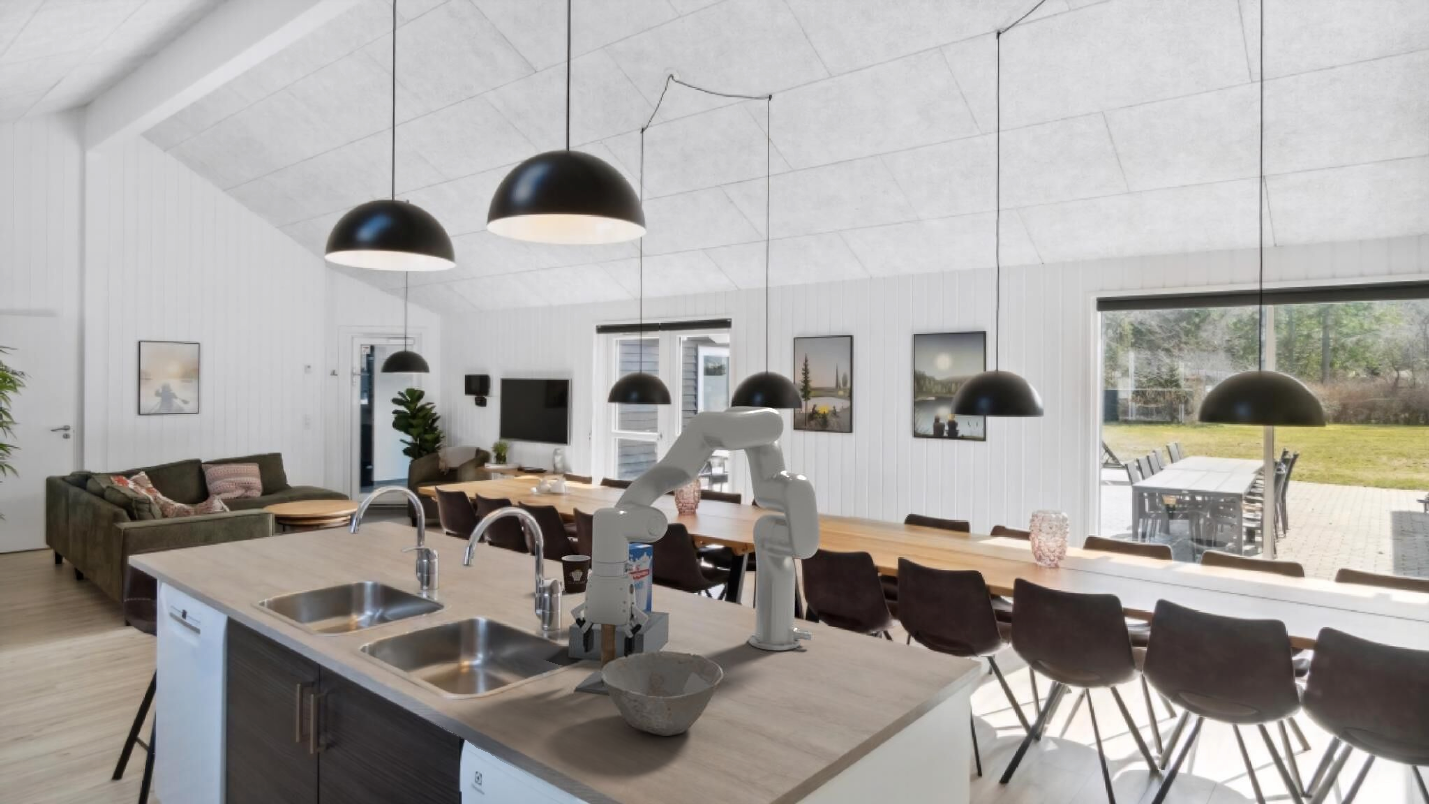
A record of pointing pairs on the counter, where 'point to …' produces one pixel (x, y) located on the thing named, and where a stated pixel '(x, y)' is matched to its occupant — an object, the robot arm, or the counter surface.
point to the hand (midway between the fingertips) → (608, 652)
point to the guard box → (623, 637)
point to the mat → (592, 684)
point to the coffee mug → (575, 573)
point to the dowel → (608, 644)
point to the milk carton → (642, 574)
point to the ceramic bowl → (661, 689)
